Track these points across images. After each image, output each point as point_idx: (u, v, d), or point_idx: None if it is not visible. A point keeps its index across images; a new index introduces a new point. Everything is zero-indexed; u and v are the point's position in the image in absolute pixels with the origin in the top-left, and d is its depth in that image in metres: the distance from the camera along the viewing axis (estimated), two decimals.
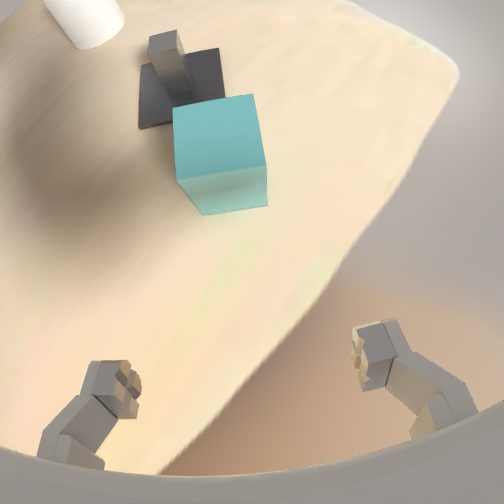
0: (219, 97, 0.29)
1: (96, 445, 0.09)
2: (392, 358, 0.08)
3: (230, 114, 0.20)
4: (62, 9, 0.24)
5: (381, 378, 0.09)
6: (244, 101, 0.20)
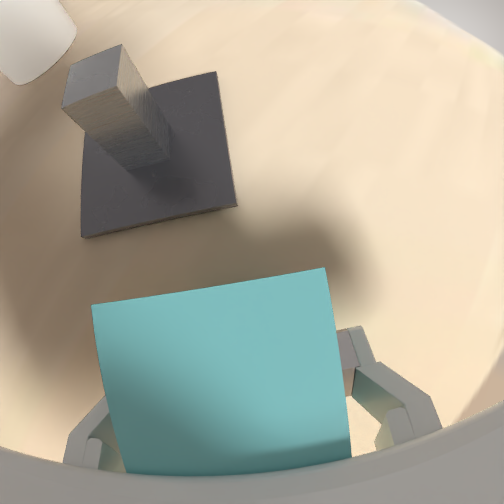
0: (221, 177, 0.16)
1: None
2: (354, 368, 0.09)
3: (257, 349, 0.07)
4: None
5: (346, 387, 0.09)
6: (299, 299, 0.07)
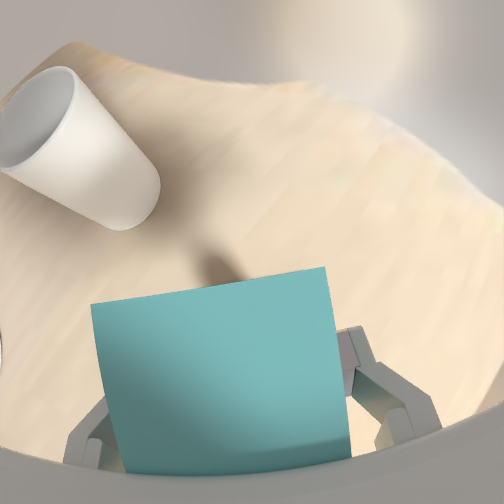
0: None
1: None
2: (354, 368, 0.09)
3: (257, 349, 0.07)
4: (71, 204, 0.22)
5: (346, 387, 0.09)
6: (299, 298, 0.07)
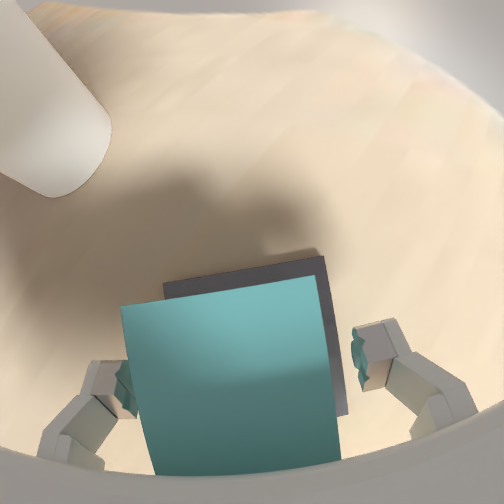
0: (335, 391, 0.16)
1: (96, 445, 0.09)
2: (392, 358, 0.08)
3: (260, 341, 0.08)
4: None
5: (381, 378, 0.09)
6: (293, 301, 0.08)
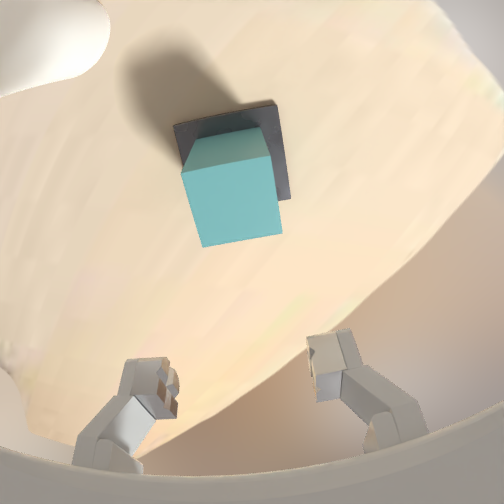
0: (282, 184, 0.29)
1: (133, 448, 0.09)
2: (341, 371, 0.09)
3: (247, 182, 0.20)
4: (17, 91, 0.15)
5: (333, 389, 0.09)
6: (261, 166, 0.19)
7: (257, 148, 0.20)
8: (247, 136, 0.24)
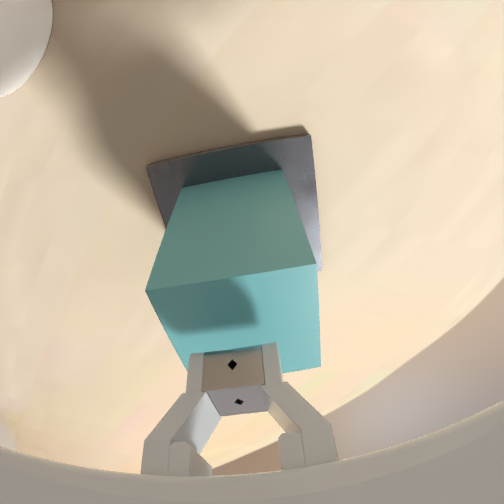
0: None
1: (199, 449, 0.09)
2: (259, 385, 0.09)
3: (268, 306, 0.11)
4: None
5: (258, 403, 0.09)
6: (297, 281, 0.10)
7: (287, 233, 0.12)
8: (264, 192, 0.15)
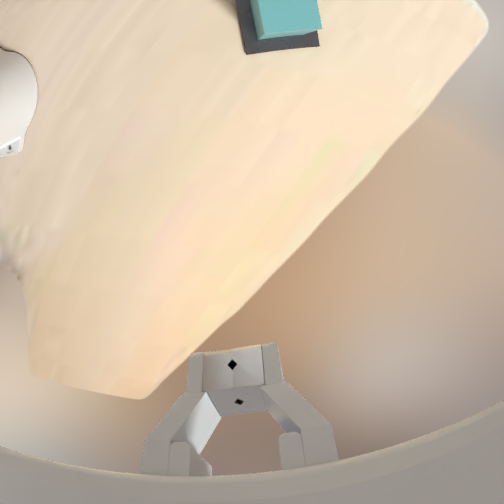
0: (313, 35, 0.32)
1: (199, 449, 0.09)
2: (259, 385, 0.09)
3: None
4: None
5: (258, 403, 0.09)
6: None
7: None
8: None
